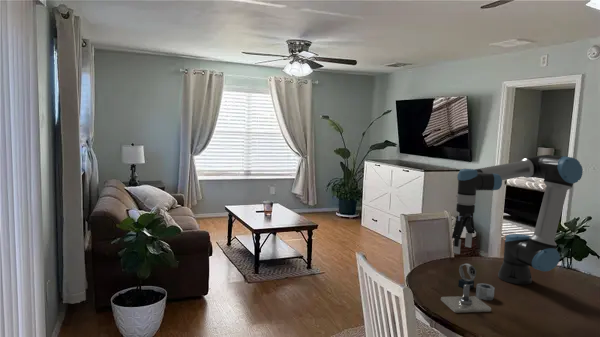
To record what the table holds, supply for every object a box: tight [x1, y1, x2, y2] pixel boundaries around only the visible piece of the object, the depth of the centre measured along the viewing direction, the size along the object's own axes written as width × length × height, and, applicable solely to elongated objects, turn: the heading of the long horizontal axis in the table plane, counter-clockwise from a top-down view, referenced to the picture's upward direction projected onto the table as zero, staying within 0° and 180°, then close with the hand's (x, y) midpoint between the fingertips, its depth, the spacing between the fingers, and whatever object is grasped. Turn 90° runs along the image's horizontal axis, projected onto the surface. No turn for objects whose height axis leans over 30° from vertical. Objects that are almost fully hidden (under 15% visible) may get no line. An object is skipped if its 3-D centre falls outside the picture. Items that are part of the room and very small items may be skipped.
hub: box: [475, 282, 495, 301], centre depth 186 cm, size 7×7×5 cm
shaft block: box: [440, 284, 492, 314], centre depth 176 cm, size 16×12×9 cm
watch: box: [457, 263, 477, 289], centre depth 197 cm, size 6×8×11 cm
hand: (462, 250), depth 186 cm, fingers open, 13 cm apart
